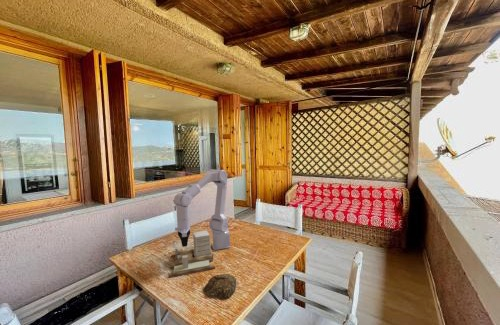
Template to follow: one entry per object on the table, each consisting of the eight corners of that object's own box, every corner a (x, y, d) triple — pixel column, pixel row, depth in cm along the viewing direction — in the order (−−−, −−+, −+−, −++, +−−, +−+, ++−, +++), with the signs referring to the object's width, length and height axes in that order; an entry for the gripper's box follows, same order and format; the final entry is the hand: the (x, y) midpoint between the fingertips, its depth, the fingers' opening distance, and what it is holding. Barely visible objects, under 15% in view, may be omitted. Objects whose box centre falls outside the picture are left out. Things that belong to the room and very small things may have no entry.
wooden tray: (210, 250, 119) (210, 242, 118) (213, 259, 109) (213, 249, 109) (175, 256, 113) (175, 247, 113) (175, 266, 104) (175, 256, 103)
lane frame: (209, 250, 120) (209, 248, 119) (214, 268, 101) (214, 266, 101) (170, 256, 113) (170, 254, 113) (169, 277, 95) (169, 275, 95)
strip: (208, 262, 107) (208, 250, 106) (210, 267, 102) (209, 254, 101) (174, 268, 102) (173, 255, 101) (174, 274, 97) (173, 261, 97)
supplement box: (193, 255, 114) (192, 232, 113) (207, 252, 117) (206, 229, 116) (196, 262, 107) (195, 237, 107) (211, 258, 110) (210, 234, 110)
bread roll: (239, 280, 92) (239, 269, 92) (232, 301, 80) (231, 288, 79) (210, 278, 94) (210, 267, 94) (199, 298, 82) (198, 285, 81)
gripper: (174, 215, 109) (176, 241, 110) (174, 224, 96) (175, 254, 97) (189, 213, 112) (190, 239, 113) (190, 222, 98) (192, 251, 99)
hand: (184, 245), depth 105 cm, fingers closed
